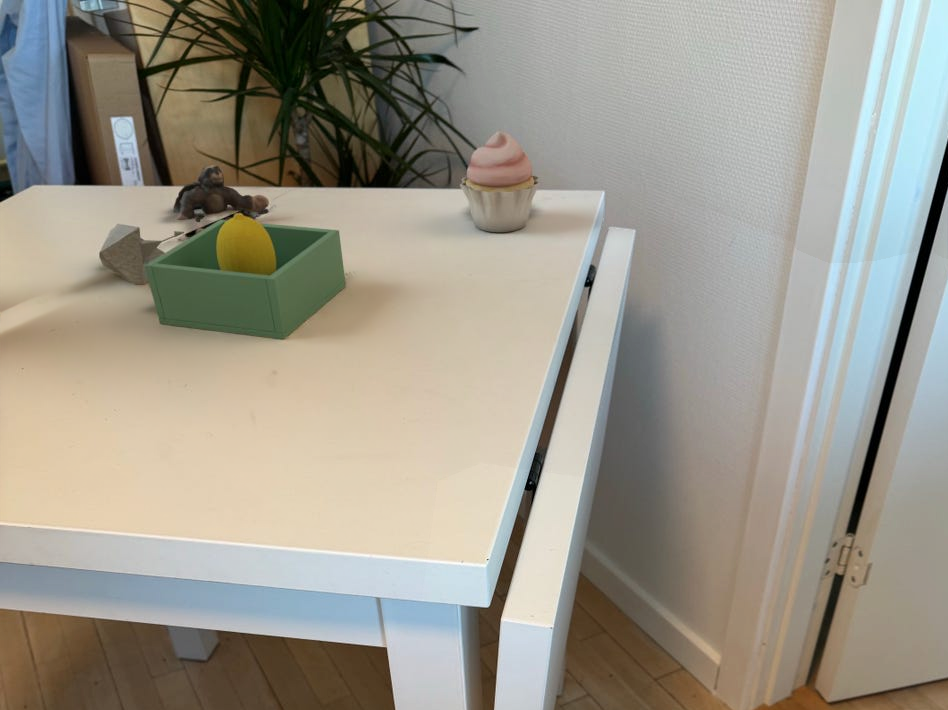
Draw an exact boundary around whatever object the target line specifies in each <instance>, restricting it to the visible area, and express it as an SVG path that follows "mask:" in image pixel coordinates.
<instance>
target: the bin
mask: <svg viewBox="0 0 948 710" xmlns="http://www.w3.org/2000/svg"><path fill="white" fill-rule="evenodd" d="M218 220H219V219H218ZM216 221H217V220H216ZM227 221H228V220H219V221H217V222H216V223H214V224H212V225H211V226H209V227H207V228H206V229H204V230H202V231H201V232H199V233H197V234H196V235H194V236H192V237H191V238H187V239H186V240H184V241H183V242H181V243H179V244H178V245H176V246H174V247H172V248H171V249H169V250H167V251H165V252H164V254H163V255H161V256H159V257H158V258H156V259H154V260H153V261H151V262H149V263H148V264H146V265H145V270H146V273H147V277H148V285H149V288H150V291H151V292H150V293H151V295H152V299H153V303H154V306H155V310H156V315H157V317H158V321H159V324H160V325H167V326H173V327H174V326H175V327H184V328H190V329H199V330H209V331H214V332H215V331H216V332H221V333H222V332H224V333H230V334H239V335H247V336H254V337H262V338H270V339H276V340H277V339H278V340H286V338H289V336H290V335H291V334H292V333H294V332H295V331H296V330H297V329H298V328H299V327H301V326H302V325H303V324H304V323H305V322H307V320H308V319H310V318H311V317H312V316H313V315H314V314H315V313H317V312H318V311H319V310H320V309H322V307H324V306H325V305H326V304H327V303H328V302H330V301H331V300H332V299H333V298H334V297H335V296H337V295H338V294H339V293H340V292H341V291H343V289H345V288H346V286H347V283H346V275H345V267H344V260H343V252H342V251H343V250H342V242H341V236H340V230H339V229H329V228H317V227H306V226H296V225H285V224H273V223H263V222H259V223H260V224H261V225H262V226H263V227H264V228H265V229H266V231H267V233H268V234H269V236H270V239H271V241H272V244H273V247H274V251H275V256H276V272H274V273H273V274H272V275H270V276H269V275H260V274H250V273H241V272H232V271H222V270H221V269H220V267H219V263H218V259H217V249H216V246H217V237H218V233H219V231H220V229H221V227H222V226H223V224H224V223H225V222H227Z"/></svg>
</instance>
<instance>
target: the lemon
mask: <svg viewBox="0 0 948 710" xmlns="http://www.w3.org/2000/svg"><path fill="white" fill-rule="evenodd" d="M235 213H236V212H235ZM260 223H261V222H259V221H257V219H255V218H254V219H252V218H249V217H246V216H244V215H243V214H242V213H236V214H235V215H234V217H233V218H231V219H229V220H228V221H227V222H225V223H224V224H223V226H222V227H221V229H220V231H219V233H218V237H217V246H216V249H217V259H218V263H219V267H220V269H221V270H222V271H232V272H241V273H250V274H260V275H269V276H270V275H272V274H273V273H274V272H276V256H275V251H274V247H273V244H272V241H271V239H270V236H269V234H268V233H267V231H266V229H265V228H264V227H263V226H262V225H261V224H260Z"/></svg>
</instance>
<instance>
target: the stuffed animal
mask: <svg viewBox="0 0 948 710" xmlns="http://www.w3.org/2000/svg"><path fill="white" fill-rule="evenodd" d="M196 179H197V181H198V182H195V181H194V182H192V183H188V184H185V185H184V186H183V187H182V188H181V189H180V190H179V192H178V195H177V197H176V198H175V202H174V203H173V210H172V211H173V213H175V214H178V215H177V216H176V217H174V220H176V221H188V220H191V219H195V222H196V223H200V222H201V220H203V219H204V218H205V217H206V216H205V215H204V214H206V215H214V214H219V213H223V212H225V211H227V210H228V206H231V208H233V209H234V210H237V211H236V212H234V213H231V214H229V215H226V216H224V217H222V218H220V219H217V220H215V221H212V222H210V223H208V224H205V225H202V226H200V227H198V228H196V229H193V230H191V231H188V232H186V233H183V236H185V237H187V239H189V238H191V237H192V236H194V235H196V234H197V233H199V232H201V231H202V230H204V229H206V228H207V227H209V226H211V225H212V224H214V223H216V222H217V221H219V220H229V219H231V218H233V217H234V215H235V214H236V213H242V214H243V215H244V216H246V217H249V218H252V219H254V220H255V219H257V218H258V217H259V216H261V214H266V213H269V212H270V210H269V209H268V207H269V205H270V200H269V199H268V197H267V196H265V195H262V194H256V195H250V194H246V195H242V194H240V193H239V192H238V191H237V190H236V189H234V188H233V187H230V186H227V185H226V186H225V185H224V184H225V178H224V174H223V172H222V169H221V168H220V166H219V165H214V164H212V165H206V166H205V167H202V170H201V172H200V173H199V174H198V175H197V178H196ZM196 210H202V212H203V213H204V214H199V215H198V216H196V215H195V211H196ZM238 210H239V211H238ZM195 216H196V217H195Z"/></svg>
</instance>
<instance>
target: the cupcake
mask: <svg viewBox="0 0 948 710" xmlns="http://www.w3.org/2000/svg"><path fill="white" fill-rule="evenodd" d="M539 180H540V176H538V175H533V165H532V162H531V159H530V158H529V156H528V155H527V154H526V153H525V152H524V151H523V149H522V147H521V145H520V143H518V141H517V140H516V139H514V137H512V136H511V135H510V134H508V133H506V132H504V131H501V130H498V131H496V132H495V133H494V134H493V135H492V136H491V137H490V138H489V139H488V140H487V141H486V143H485V144H484V145H483V146H480V147H477V149H475V150H474V152H473V153H472V155H471V158H470V162H469V164H468V167H467V170H466V176H465V177H463V178H461V181H462V182H461V183H460V184H459V187H460V188H461V190H462V192H463V194H464V197H466V199H467V202H468V206H469V210H470V214H471V218H472V222H473V224H474V226H475V228H477V229H479V230H481V231H484V232H490V233H508V232H509V233H510V232H514V231H517V230H521V229H523V228H524V227H525V226H527V223H528V221H529V217H530V212H531V209H532V208H531V207H532V203H533V199H534V197H535V194H536V193H537V190H538V188H539V186H540V184H541V183H540V182H539Z"/></svg>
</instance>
